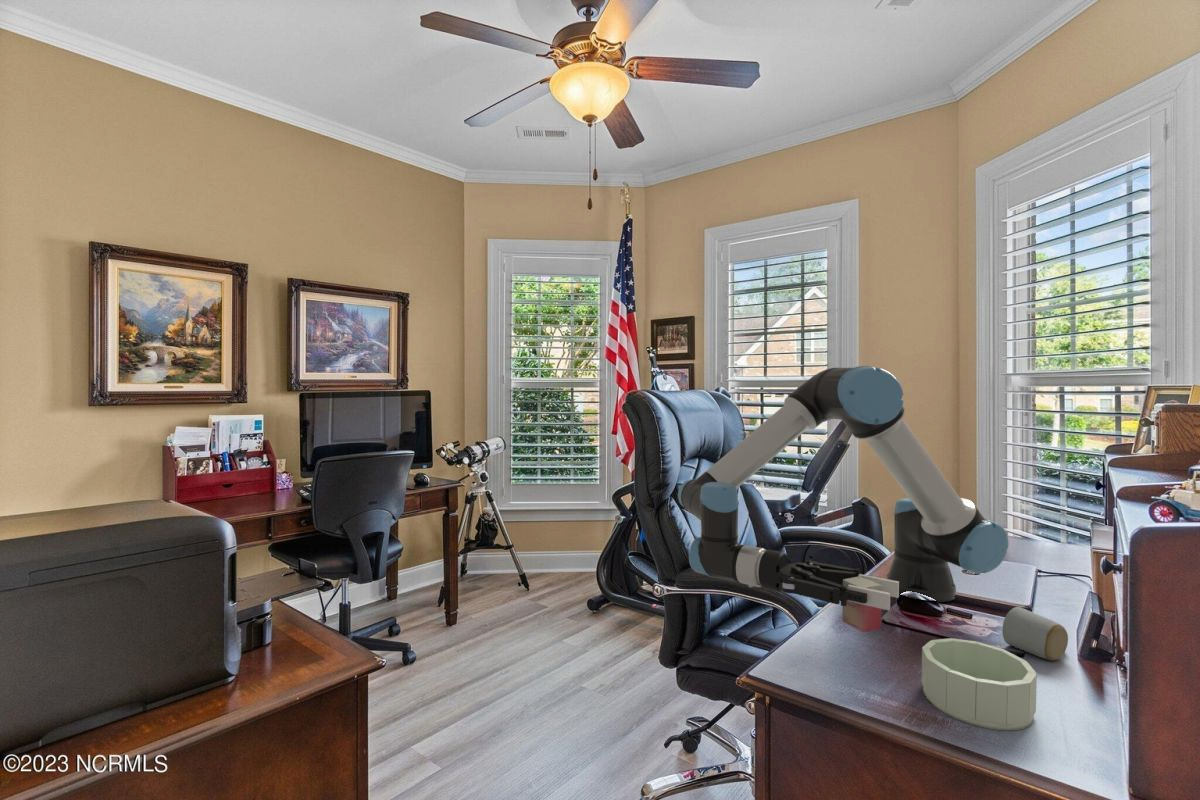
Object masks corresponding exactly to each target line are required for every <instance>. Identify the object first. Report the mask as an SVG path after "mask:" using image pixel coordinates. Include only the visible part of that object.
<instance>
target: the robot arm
mask: <svg viewBox="0 0 1200 800" xmlns="http://www.w3.org/2000/svg"><path fill="white" fill-rule="evenodd" d="M903 396H904V391H903V387H902V385H901V383H900V382H899V379H897V378H896V376H895V375H894V374H892V373H891V372H889V371H887V370H886V369H883V368H880V367H874V366H869V365H862V366H855V367H830V368H826V369H825V370H824V369H823V370H821V371H820V372H818V373H816V374H814V375H813V376H812V377H810V378H809V379H807V380H805V382H803V383H802V384H801V385H799V386H798V387H797V388H796V389H795V390H794V391H792V392H791V393H790V394H788V396H786V398H784V402H783V403H784V404H783V406H781V407H780V408H779V409H778V410H777V411H775V412H774V413H773V414H772V415H771V416H770V417H769V418H768V419H766V420H765V421H764V422H763V423H761V424H760V425H759V426H758V427H757V428H755V429H754V430H753V431H751V433H749V434H748V436H746V437H745V438H744V439H742V440H741V441H740V442H739V443H738V444H736V445H735V446H734V447H733V448H732V449H731V450H730V451H728V453H726V454H724V455H723V457H721V458H720V459H719V460H717V461H716V462H715V463H714V464H713V465H712V466H710V467H709V468H708V469H707V470H706V471H705V472H703V473H701V475H700V476H698V477H697V478H693V479H687V480H685V481H684V482H682V483H681V484H680V486H679V488H678V491H677V499H678V502H679V504H680V505H681V507H683V509H684V510H685V511H686V512H688V513H689V514H691V515H692V516H695V517H696V518H697V519H698V520H700V531H701V533H700V536H699V537H696V538H695V539H694V540H693V541H692V542H691V544H690V547H689V550H690V551H689V552H688V561H689V562H688V563H689V565H690V569H692V570H693V571H694V572H695V573H697V574H698V573H699V574H702V575H704V576H708V577H709V578H715V579H720V580H725V581H730V582H735V583H738V584H744V585H747V586H748V587H749V588H754V587H757V588H762V589H764V590H769V591H772V592H776V593H782V592H783V593H785V594H794V595H799V596H802V597H805V598H811V599H814V600H819V601H822V602H826V603H829V604H834V605H839V604H840V606H841V607H843V606H846V605H847V600H848V601H849V602H854V603H858V604H862V605H867V606H871V607H876V608H880V609H881V610H884V611H885V610H886V611H890V610H891V598H897V599H899V597H900V595H899V594H901V593H903V592H906V591H912V592H917V593H920V594H923V595H926V596H928V597H931V598H933V599H935V600H936V601H938V602H937V603H945V602H951V601H953V600H955V599H956V598H955V597H954V596H955V592H956V593H957V587H956V584H955V582H954V579H953V574H952V571H951V568H950V566H949V563H950V564H952V565H955V566H957V567H960V568H962V570H964V571H967V572H968V571H970V572H973V573H975V574H987V573H991V572H992V571H994V570H995V569H997V568H998V567H999V566H1000V565H1001V564H1002V563H1003V561H1004V560H1005V557H1006V556H1007V553H1008V549H1009V537H1008V534H1007V531H1006V529H1005V528H1004V527H1003V525H1001V524H999V523H997V522H996V521H994V520H989V519H988V520H987V519H986V518H985V517H984V516H983V514H982V513H981V512H980V510H979V509H978V508H977V506H976V504H974V503H973V502H972V501H971V500H970V499H967V498H964V497H960V496H959V495H958V493H957V492H956V490H955V488H953V486H952V485H951V483H950V481H949V480H948V479H947V477H946V476H945V475H944V473H942V470H940V468H939V467H938V465H937V464H936V463H935V461H934V460H933V458H932V457H931V456H930V455H929V453H928V452H927V450H926V449H925V448H924V446H923V445H922V443H921V442H920V440H919V439H918V438H917V436H916V435H915V433H914V432H913V431H912V429H911V428H910V426H909V425H908V424H907V423H906V421H905V420H904V416H905V413H906V409H905V406H904V399H903ZM832 419H833V420H841V421H842V422H843V424H844V425H845V426H846V427H847V428H848V430H849V431H850V433H851V435H853V436H854V438H855V439H858V440H864V441H866V443H868V445H869V446H870V447H871V449H872V450H873V451H874V453H875V454H876V456H877V457H878V458H879V460H880V461H881V463H882V464H883V465H884V467H885V468H886V469H887V470H888V472H889V473H890V474H891V476H892V477H893V478H894V480H895V481H896V482H897V484H898V485H899V487H900V488H901V490H902V491H903V492H904V493H905V495H906V496H907V497H908V498H907V497H906V498H900V499H898V500H897V501H896V502H895V507H894V513H893V516H894V518H893V519H894V525H893V527H894V529H893V530H894V531H893V532H894V539H893V540H894V546H893V548H894V549H893V551H894V554H893V559H892V561H891V564H890V568H889V570H888V571H889V572H888V573H887V575H886V576H885V578H882V577H878V576H872V575H866V574H862V573H861V569H860V568H852V567H846V566H841V565H840V566H839V565H834V564H829V563H823V562H819V561H814V560H812V559H807V560H805V562H800V561H799V562H798V561H797V562H794V563H793V562H791V561H790V558H789V555H788V554H787V553H786V552H784V551H779V550H772V549H765V548H763V547H757V546H752V545H746V544H741V543H739V540H738V539H739V533H738V531H739V528H738V526H739V524H738V523H739V499H738V498H739V497H738V488H739V487H740V486H742V485H743V484H744V483H746V481H747V480H749V479H750V478H751V477H753V476H754V475H755V474H756V473H757V472H759V470H760V469H762V468H763V467H764V466H765V465H766V464H768V463H769V462H770V461H771V460H772V459H773V458H775V457H776V456H777V455H778V454H780V453H781V452H782V451H783V450H784V449H785V448H787V447H788V446H789V445H791V443H793V442H794V441H795V440H797V438H799V436H801V435H802V434H803V433H805V431H807V430H815V429H816V428H817V427H818V426H820V425H821V424H823V423H824V422H826V421H829V420H832ZM858 576H861V577H863V578H865V579H868V580H871V581H873V582H875V583H878V584H880V585H882V591H878V590H873V589H868V588H863V587H858V586H853V585H848V589H847V587H846V586H843V579H848V578H853V577H858Z"/></svg>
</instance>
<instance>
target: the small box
mask: <svg viewBox="0 0 1200 800" xmlns="http://www.w3.org/2000/svg"><path fill="white" fill-rule="evenodd" d="M848 585H853V586H858V587H863V588H868V589H873V590H878V591H882V585H880V584H878V583H875V582H873V581H871V580H868V579H865V578H863V577H861V576H858V577H853V578H848V579H843V586H846V587H847V589H848ZM841 617H842V618H841V619H842V620H841V621H842V623H845V624H847V625H848V626H850V627H853V628H854V629H856V630H857V631H860V632H862V633H867V632H871V631H875V630H879V629H882V609H880V608H876V607H871V606H867V605H862V604H858V603H854V602H849V601H848V600H847V605H846V606H842V615H841Z"/></svg>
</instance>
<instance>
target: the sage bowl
mask: <svg viewBox="0 0 1200 800" xmlns="http://www.w3.org/2000/svg"><path fill="white" fill-rule="evenodd" d="M1037 676H1038V675H1037V672H1036V671H1035V669H1034V668H1033V667H1032V666H1031V665H1030V663H1029V662H1028V661H1027V660H1025V659H1024V658H1022V657H1019V656H1017V655H1016V654H1014V653H1011V651H1010V652H1009V651H1008V650H1006V649H1003V648H1000V647H997V646H993V645H990V644H986V643H983V642H979V641H976V640H975V641H974V640H967V639H959V638H951V637H950V638H939V639H931V640H930V641H928V642H926V643H925V645H923V646H922V648H921V684H922V692H923V695H924V697H925V696H926V697H925V698H926V700H927V699H928V700H929V701H930V702H931V703H932V704H933V705H932V704H931V703H930V702H929V701H928V700H927V701H928V702H929V703H930V704H931V705H932V706H934V707H935V708H936V709H938V710H939V711H941V712H943V713H944V714H946V715H948V716H949V717H951V718H954V719H957V720H958V721H961V722H963V723H967V724H970V725H973V726H976V727H980V728H984V729H989V730H995V731H996V730H997V731H1010V732H1011V731H1012V732H1013V731H1019V730H1023V729H1026V728H1028V727H1031V725H1032V724H1033V723H1034V716H1035V714H1036V712H1037V683H1038V682H1037V680H1038V679H1037V678H1038V677H1037Z"/></svg>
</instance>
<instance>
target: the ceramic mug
mask: <svg viewBox="0 0 1200 800" xmlns="http://www.w3.org/2000/svg"><path fill="white" fill-rule="evenodd" d="M1002 637H1003V641H1004V642H1005V643H1006V644H1007V645H1008V646H1011V647H1013V646H1014V647H1013V648H1016V649H1018V648H1019V649H1018V650H1021V651H1023V650H1024V651H1023V652H1027V653H1029V654H1031V655H1034V656H1036V657H1039V658H1041V659H1043V660H1044V659H1045V660H1047V661H1057V660H1059V659H1061V658H1062V657H1063V655H1064V654H1065V652H1066V651H1067V650H1066V649H1067V647H1068V643H1069V635H1068V632H1067V629H1066V628H1065V627H1064V626H1063V625H1062V624H1060V623H1058V622H1056V621H1054V620H1053V619H1049V618H1047V617H1045V616H1042V615H1040V614H1038V613H1036V612H1033V611H1030V610H1028V609H1025V608H1023V607H1022V606H1021V607H1020V606H1015V607H1013V608H1011V609H1010V610H1009V611H1008V612H1007V613H1006V615H1005V617H1004V619H1003V624H1002Z"/></svg>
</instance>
